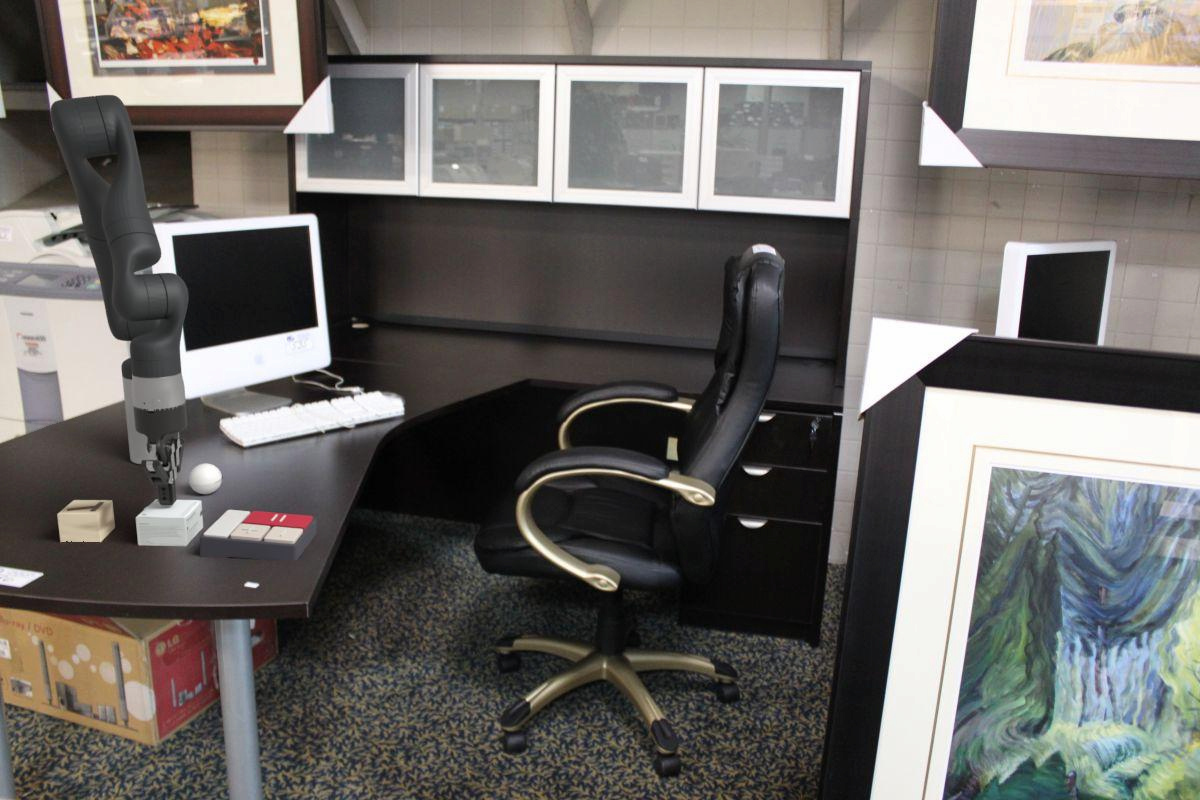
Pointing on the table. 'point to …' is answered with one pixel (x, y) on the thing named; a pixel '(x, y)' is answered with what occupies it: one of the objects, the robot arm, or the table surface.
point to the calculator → (258, 535)
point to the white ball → (205, 478)
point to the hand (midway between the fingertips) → (168, 503)
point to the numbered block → (86, 521)
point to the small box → (169, 523)
